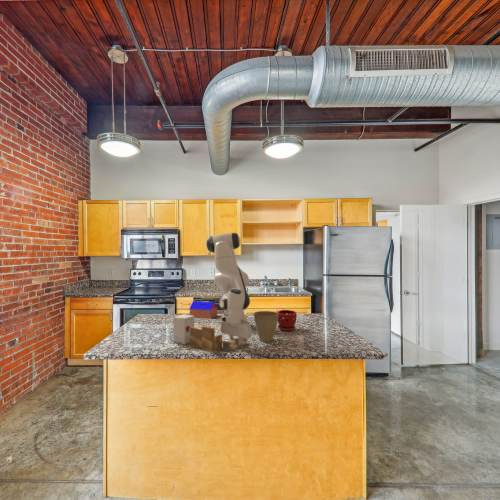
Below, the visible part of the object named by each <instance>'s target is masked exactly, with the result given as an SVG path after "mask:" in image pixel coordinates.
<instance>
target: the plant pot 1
mask: <svg viewBox="0 0 500 500" xmlns="http://www.w3.org/2000/svg"><path fill="white" fill-rule="evenodd" d="M277 312H278V311H277ZM277 312H276V311H272V310H271V311H269V310H261V311H260V310H259V311H255V312H253V317H254V318H253V320H254V323H255V329H256V332H257V334H258V335H257V336H258V338H259V340H260V342H264V343H266V342H267V343H268V342H272V341H273V339H274V336H275V334H276V330H277V327H278V326H277V325H278V315H279V314H278V313H277Z"/></svg>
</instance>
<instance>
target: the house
mask: <svg viewBox="0 0 500 500" xmlns="http://www.w3.org/2000/svg"><path fill="white" fill-rule="evenodd" d="M189 315H193V316H194V318H198V319H199V318H201V319H213V318H215V317H218V306H217V305H216V303H215V302H210V301H209V302H208V301H192V303H191V304H190V306H189Z"/></svg>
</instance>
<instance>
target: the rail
mask: <svg viewBox="0 0 500 500" xmlns="http://www.w3.org/2000/svg"><path fill="white" fill-rule="evenodd" d="M238 340H239V339H238V337H236V338H234V339H232V340H231V339H230V340H227V341H226V340H222V351H224V352H230V351H232V350H234V349H236V348H239V347H242V346H245V345H246V344H247V343H248V339H246V338H242V340H241V344H240V345H238V344H237V341H238Z"/></svg>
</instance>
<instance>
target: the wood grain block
mask: <svg viewBox="0 0 500 500" xmlns="http://www.w3.org/2000/svg"><path fill="white" fill-rule="evenodd" d="M215 333H216V332H215V327H211V326H208V325H202V326H201V328H199V327H195V326H194V327H190V342H189V345H190V346H193V347H196V348H198V349H202V350H205V351H209V352H214V351H216V350H219V349H223V334H222V333H221V334H217V335H215Z"/></svg>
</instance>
